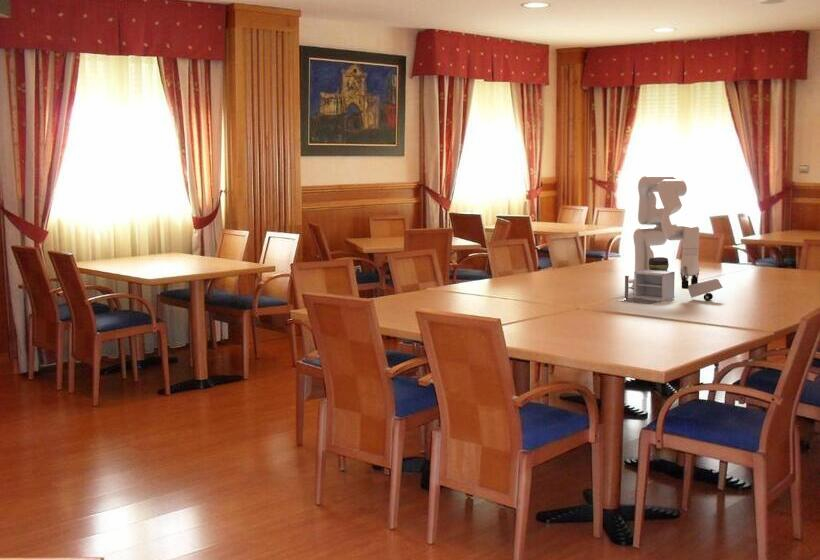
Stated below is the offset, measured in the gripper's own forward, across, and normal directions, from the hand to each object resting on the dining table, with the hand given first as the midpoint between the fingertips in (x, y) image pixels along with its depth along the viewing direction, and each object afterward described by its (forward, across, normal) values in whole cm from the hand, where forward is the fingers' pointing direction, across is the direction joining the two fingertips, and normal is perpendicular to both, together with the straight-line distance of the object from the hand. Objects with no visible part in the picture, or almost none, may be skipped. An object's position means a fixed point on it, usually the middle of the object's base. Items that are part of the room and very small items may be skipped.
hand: (689, 287), depth 472 cm
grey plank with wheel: (+4, 0, +1) cm, 4 cm away
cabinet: (+6, +7, -15) cm, 17 cm away
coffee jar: (+6, -6, -20) cm, 22 cm away
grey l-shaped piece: (+6, +20, -16) cm, 26 cm away
